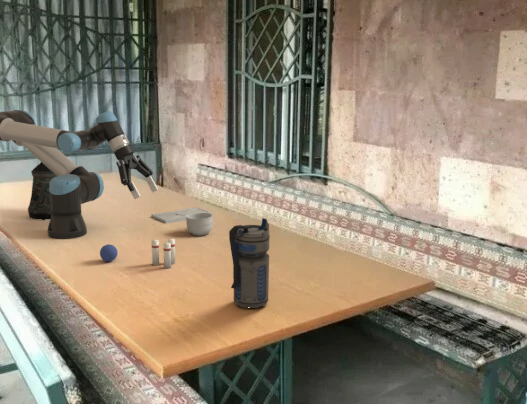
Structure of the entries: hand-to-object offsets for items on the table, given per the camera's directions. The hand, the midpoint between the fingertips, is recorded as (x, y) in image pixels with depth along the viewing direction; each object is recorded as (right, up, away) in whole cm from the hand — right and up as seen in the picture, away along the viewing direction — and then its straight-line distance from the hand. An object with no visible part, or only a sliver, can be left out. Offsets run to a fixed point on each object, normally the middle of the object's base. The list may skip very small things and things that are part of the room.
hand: (146, 194), depth 249 cm
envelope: (+10, -10, +32) cm, 35 cm away
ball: (-7, -21, -34) cm, 40 cm away
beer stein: (-50, -9, +30) cm, 59 cm away
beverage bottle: (+43, -33, -70) cm, 88 cm away
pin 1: (+14, -25, -38) cm, 48 cm away
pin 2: (+15, -24, -34) cm, 44 cm away
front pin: (+10, -25, -35) cm, 44 cm away
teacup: (+21, -16, +6) cm, 27 cm away
